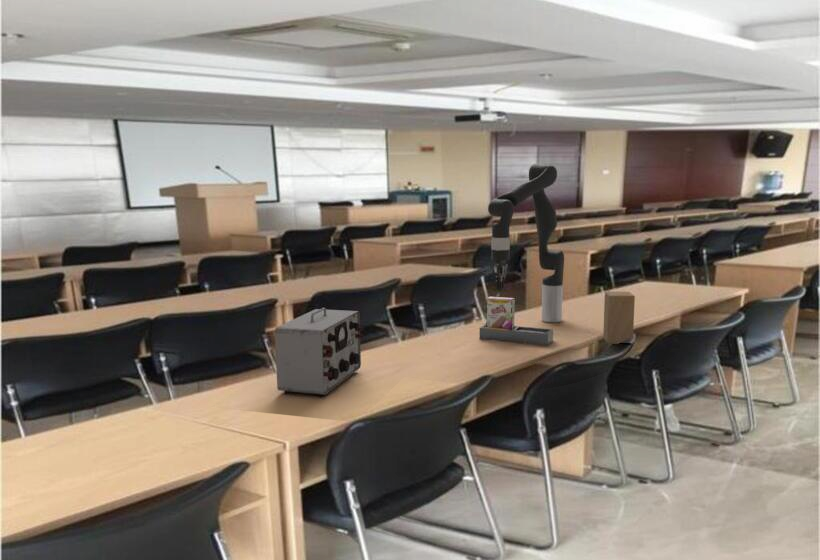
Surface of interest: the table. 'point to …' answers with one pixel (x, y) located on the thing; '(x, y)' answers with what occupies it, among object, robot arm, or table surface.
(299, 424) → the table surface
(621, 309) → the wooden block
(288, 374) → the vintage electronic device
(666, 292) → the table surface
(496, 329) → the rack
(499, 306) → the candy bar box
